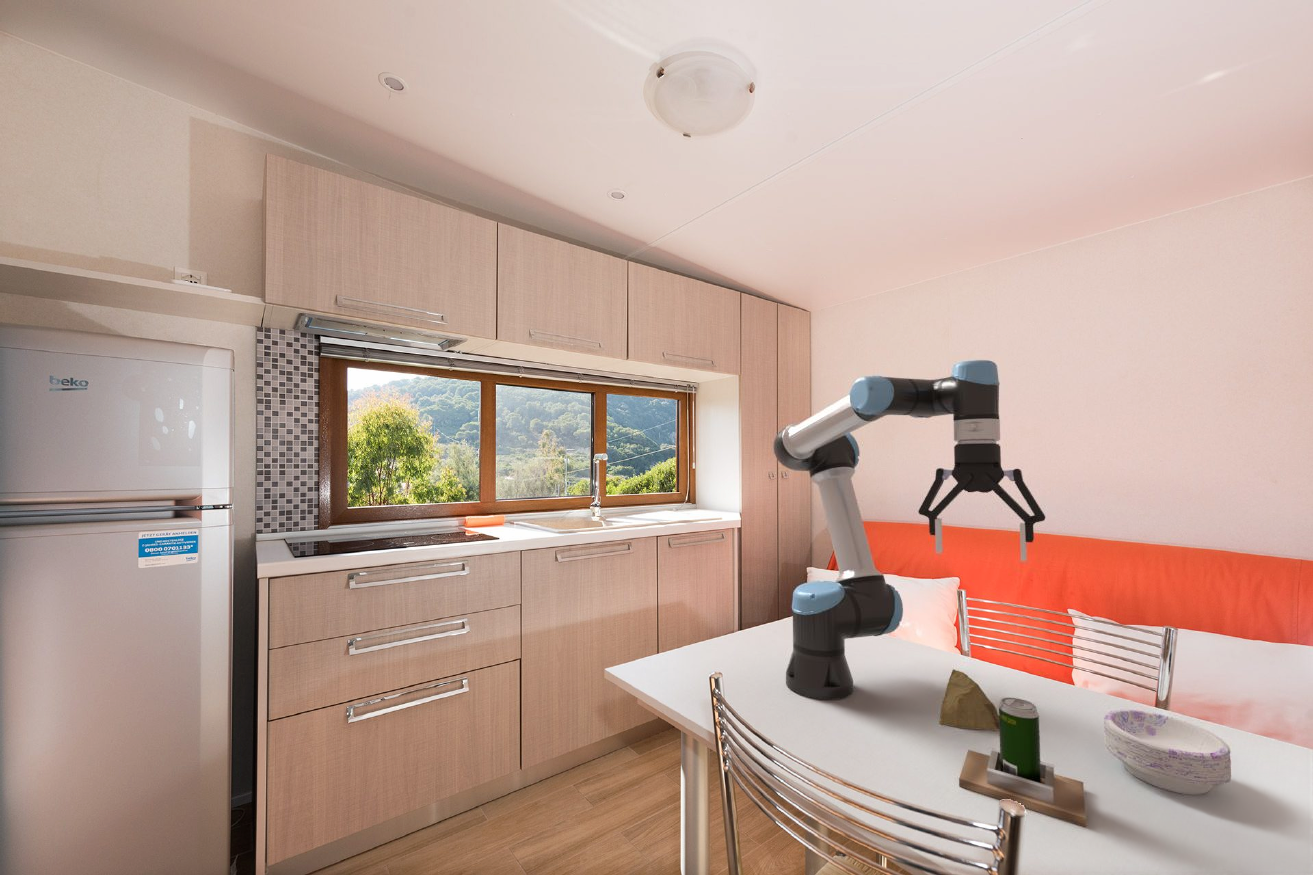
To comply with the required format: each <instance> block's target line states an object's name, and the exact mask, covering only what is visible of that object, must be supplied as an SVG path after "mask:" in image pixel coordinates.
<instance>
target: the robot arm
mask: <svg viewBox="0 0 1313 875" xmlns="http://www.w3.org/2000/svg"><path fill="white" fill-rule="evenodd" d="M951 369H952V371H951V374H950V376H948V377H947V376H946V377H943V378H942V377H941V378H937V379H935V378H934V379H926V378H925V379H924V378H923V379H922V378H904V377H903V378H902V377H890V376H888V377H887V376H881V375H872V376H870V375H869V376H868V375H867V376H862V377H858V378H857V379H856V380H854V383H853V385H852V386H851V387H850V390H849V394H848V395H845V396H844V397H842V398H840V399H839V400H837V401H835V402H834V403H832V404H831V405H828V406H827V407H825V408H824V409H822V410H820V411H818V412H817V413H815V414H813V415H811V416H810V417H808V418H807V419H805V420H803V421H801V422H793V423H791V424H789V425H786V426H784V428H782V429H781V430H780V431H779V432H778V433H777V434H776V436H775V438H774V441H773V454H774V455H775V458H776V460H777V461H778V462H779V464H781V465H782V466H783V467H785V468H787V469H789V470H792V471H796V472H799V471H800V472H804V471H805V472H809V477H810V481H811V482H812V483H814V484H816V485H817V486H818V490H819V494H820V498H821V501H822V506H823V510H824V515H825V518H826V519H825V520H826V523H827V527H828V531H829V535H830V541H831V543H832V547H833V553H834V557H835V560H836V564H837V569H838V572H839V574H838V577H837V579H836V580H835V581H833V580H832V581H831V580H823V581H821V580H815V581H810V582H809V581H808V582H804V583H802V584H800V585H798V586H796V588H795V589H794V590H793V592H792V601H791V602H792V603H791V610H792V652H791V654H790V655H791V656H790V658H789V662H788V665H787V668H786V671H785V685H786V686H787V687H788V689H790V690H791V691H792V692H794V693H796V694H799V695H802V696H805V697H808V698H811V699H817V700H818V699H820V700H838V699H839V700H841V699H843V698H848V697H850V696H851V695H852V694H853V693H854V680H853V676H852V673H851V670H850V667H849V664H848V660H847V658H846V654H845V653H846V652H845V650H846V648H845V647H846V646H845V640H846V639H855V638H866V637H880V636H883V635H887V634H891V633H893V632H895V631H896V630H897V629H898V627H899V626H900V623H901V622H902V619H903V616H904V606H903V601H902V597H901V595H900V593H899V591H898V590H896V589H895V587H894V586H893V585H891V584H889V583H887V582H886V579H885V575H884V573H882V572H880V571H879V570H877V568H876V567H875V564H874V560H873V559H874V558H873V556H872V552H871V547H870V544H869V540H868V537H867V534H866V531H865V526H864V523H863V519H862V515H861V511H860V507H859V503H858V500H857V497H856V496H857V495H856V493H855V488H854V485H853V481H852V478H853V477H854V474H855V473H856V469H855V468H856V467H857V466H858V464H859V460H860V459H859V458H858V457H860V447H859V445H858V442H857V439H856V438H855V437H854V436H853V435H852V432H854V431H856V430H858V429H860V428H862V427H864V426H866V425H869V424H870V423H873V422H875V421H877V420H879V419H882V418H884V417H886V416H910V417H912V418H915V419H916V418H918V419H919V418H920V419H922V418H926V419H929V418H933V417H940V416H947V415H952V417H953V419H952V420H953V441H954V442H956V444H954V445H953V451H954V452H953V454H954V455H953V457H954V467H953V469H946V468H942V467H941V468H940V467H939V468H936V471H935V478H934V481H933V483H932V485H931V487H930V488H929V491H928V492H927V494H926V496H925V498H924V499H923V501H922V503H921V505H920V507H919V509H918V511H917V512H918V514H919V515H922V516H924V517H927V518H928V526H929V527H928V529H929V530H928V531H929V536H935V538H934V540H935V554H939V555H940V554H942V553H943V551H944V550H943V521H942V520H943V519H942V518H938V516H939V515H940V514H941V513H942V512H943V511H944V510H946V509H947V507H948V506H949V505H950V504H951V503H952V502H953V501H954V500H955V499H956V498H957V497H958V495H960V494H961V493H962V492H963V491H965V492H967V493H977V492H978V493H982V494H983V493H987V494H988V493H990V492H994V493H995V494H996V495H997V496H998V497H999V498H1000V499H1001V500H1002V501H1003V503H1004V504H1006V505H1007V506H1008V507H1009V508H1010V509H1011V510H1012V511H1013V512H1014V513H1015V514H1016V515H1017V516H1018V517H1019V518H1020V519H1021V520H1022V521H1023V523H1022V522H1020V523H1019V540H1020V542H1019V543H1020V544H1019V545H1020V547H1019V548H1020V562H1027V560H1028V558H1027V556H1028V555H1027V551H1028V550H1027V543H1033V542H1034V540H1035V539H1034V538H1035V536H1034V535H1035V534H1034V525H1035V524H1036V523H1041V522H1044V521H1045V519H1046V514H1045V513H1044V511H1043V510H1042V508H1041V506H1039V504H1038V502H1037V500H1036V499H1035V498H1034V496H1033V494H1032V492H1031V491H1030V489H1029V488H1028V486H1027V485H1026V483H1025V482H1024V479H1023V472H1022V470H1021V469H1020V468H1014V469H1008V470H1007V469H1006V470H1003V467H1002V457H1001V454H1002V453H1001V452H1002V451H1001V445H1000V444H999V443H997V442H998V441H1000V440H1001V420H1000V409H999V408H1000V407H999V404H1000V403H999V402H1000V380H999V372H998V371H999V370H998V365H997V364H996V363H995V362H994V361H993V360H988V359H986V360H985V359H977V360H976V359H975V360H966V361H961V362H957V363H956V364H954V365H953V366H952V368H951ZM950 476H952V477H953V478H952V479H954V480H955V481H956V482H957V483H956V485H955V486H953V488H952V489H951V490H950V491H949V492H948V493H947V494H946V495H945V496H944V498H942V499H941V501H939V503H937V505H936V506H935V507H934V508H933V509H932V510H930V509H931V507H932V505H933V502H934V500H935V499H936V498H937V496H938V494H939V492H940V489H941V488H942V486H943V484H944V482H945V481H946V480H948V479H949V478H950ZM1004 477H1007V478H1008V480H1009V481H1010V482H1014V483H1015V486H1016V488H1017V489H1018V491H1019V492H1020V494H1021V496H1022V497H1023V499H1024V500H1025V502H1026V504H1027V505H1028V507H1029V508H1030V510H1031V512H1032V513H1033V515H1030V514H1029V513H1028V512H1027V511H1026V510H1025V509H1024V508H1023V507H1022V506H1021V505H1020V504H1019V503H1018V502H1017V501H1016V500H1015V499H1014V498H1013V497H1012V496H1011V495H1010V494H1009V493H1008V492H1007V491H1006V490H1005V489H1004V488H1003V487H1002V486H1001V485H1000V484H999V483H1000V482H1001V481H1002V480H1003V479H1004Z"/></svg>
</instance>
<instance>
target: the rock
mask: <svg viewBox="0 0 1313 875" xmlns="http://www.w3.org/2000/svg"><path fill="white" fill-rule="evenodd" d="M940 709H941V710H940V716H939V722H938V723H939V724H940V725H942V726H943V725H947V726H950V727H951V726H952V727H956V728H960V729H969V730H982V731H985V730H993V731H999V711H997V708H996V706H995V705H994V704H993V702H992V701H991V700H990V699H989V698H988V696H987V694H986V693H985V692H984V691H983V689H981V687H980V685H979V684H978V683H977V682H975V681H974V680H973V679H972V678H971V677H970V676H969V675H967V674H966V673H964V672H963V671H960V670H957V669H954V668H953V669H952V671H951V673H950V676H949V678H948V681H947V684H946V688H945V692H944V696H943V700H942V701H941V708H940Z"/></svg>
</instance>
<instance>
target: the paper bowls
mask: <svg viewBox="0 0 1313 875" xmlns="http://www.w3.org/2000/svg"><path fill="white" fill-rule="evenodd" d="M1103 718H1104V719H1103V720H1104V721H1103V725H1104V743H1105V747H1106V749H1107V750H1108V751H1109V752H1110V753H1111V755H1113V756H1114V757H1115V758H1117V759H1118V760H1120V761H1121V762H1122V765H1123V766H1124V767H1125V768H1126V769H1127V771H1128V772H1130V773H1131V775H1133V776H1134V777H1136V778H1137V779H1139V780H1142V781H1143V782H1145V783H1147V784H1150V785H1151V786H1154V787H1157V788H1158V789H1159V788H1160V789H1162V790H1165V791H1169V792H1173V793H1178V794H1183V795H1191V796H1192V795H1193V796H1194V795H1202V794H1205V793H1208V792H1209V791H1211V789H1212V788H1213V787H1219V786H1224V785H1227V784H1228V783H1230V782H1231V779H1232V770H1231V769H1232V766H1231V765H1232V760H1231V749H1230V747H1229V745H1228V744H1227V743H1226V742H1225V741H1224V740H1223V739H1222V738H1220V737H1219V736H1218V735H1216V734H1214V732H1212V731H1210V730H1207V729H1205V728H1203V727H1200V726H1198V725H1196V724H1193V723H1191V722H1189V721H1186V720H1182V719H1179V718H1176V717H1172V716H1169V715H1165V714H1162V713H1161V714H1160V713H1156V712H1151V711H1145V710H1138V709H1116V710H1111V711H1108V712H1107V713H1106V714H1105V715H1104V717H1103Z"/></svg>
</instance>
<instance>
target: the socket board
mask: <svg viewBox="0 0 1313 875" xmlns="http://www.w3.org/2000/svg"><path fill="white" fill-rule="evenodd" d="M963 762H964V763H963V765H962V768H961V771H960V775H959V777H958V783H959V784H958V786H959V787H960V788H964V789H967V790H969V791H972V792H976V793H979V794H981V795H984V796H985V795H986V796H989V797H992V798H994V799H998V800H1000V799H1011V800H1013V801H1017V802H1018V803H1021V805H1024V807H1023V808H1025V807H1026V809H1029V810H1031V811H1035V812H1038V813H1042V814H1045V815H1047V816H1051V817H1054V818H1057V819H1061V820H1063V821H1066V822H1069V823H1072V824H1076V825H1079V826H1082V827H1085V828H1087V814H1086V813H1087V812H1086V811H1087V810H1086V799H1085V789H1084V788H1085V787H1084V782H1083V781H1081V780H1076V779H1073V778H1070V777H1067V776H1062V775H1059V774H1056V773H1055V770H1054V769H1055V768H1054V767H1055V765H1054V764H1052V763H1049V762H1044V761H1041V760H1040V769H1041V783H1038V782H1035V781H1031V780H1028V779H1025V778H1021V777H1018V776H1014V775H1011V774H1008V773H1004V772H1001V770H1000V749H997V748H994V747H992V748H991V750H990V755H989V754H984V753H981V752H979V751H974V750H970V749H967V753H966V755H965V759H964V761H963Z"/></svg>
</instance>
